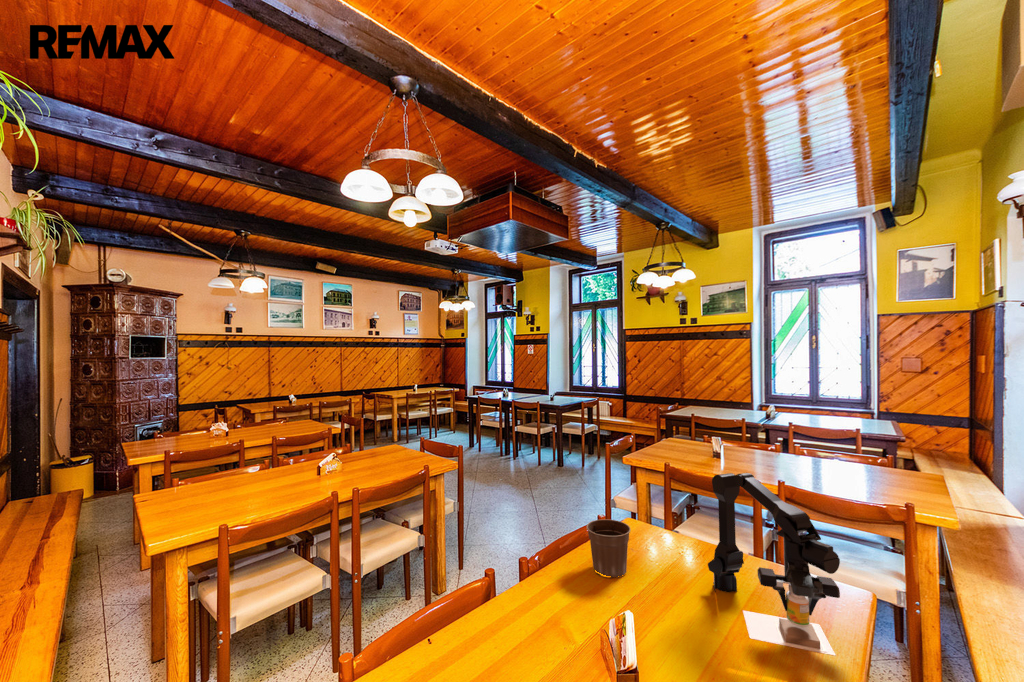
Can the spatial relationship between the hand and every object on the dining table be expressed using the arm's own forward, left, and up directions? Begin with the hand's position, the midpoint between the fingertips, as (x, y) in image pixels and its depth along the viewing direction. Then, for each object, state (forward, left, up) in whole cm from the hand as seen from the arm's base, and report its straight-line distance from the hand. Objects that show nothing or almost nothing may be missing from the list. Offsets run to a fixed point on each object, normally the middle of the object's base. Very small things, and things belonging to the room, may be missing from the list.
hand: (797, 612), depth 120 cm
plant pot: (-56, +21, -8) cm, 60 cm away
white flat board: (-3, +1, -7) cm, 8 cm away
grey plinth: (0, 0, -7) cm, 7 cm away
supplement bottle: (0, 0, -3) cm, 3 cm away
